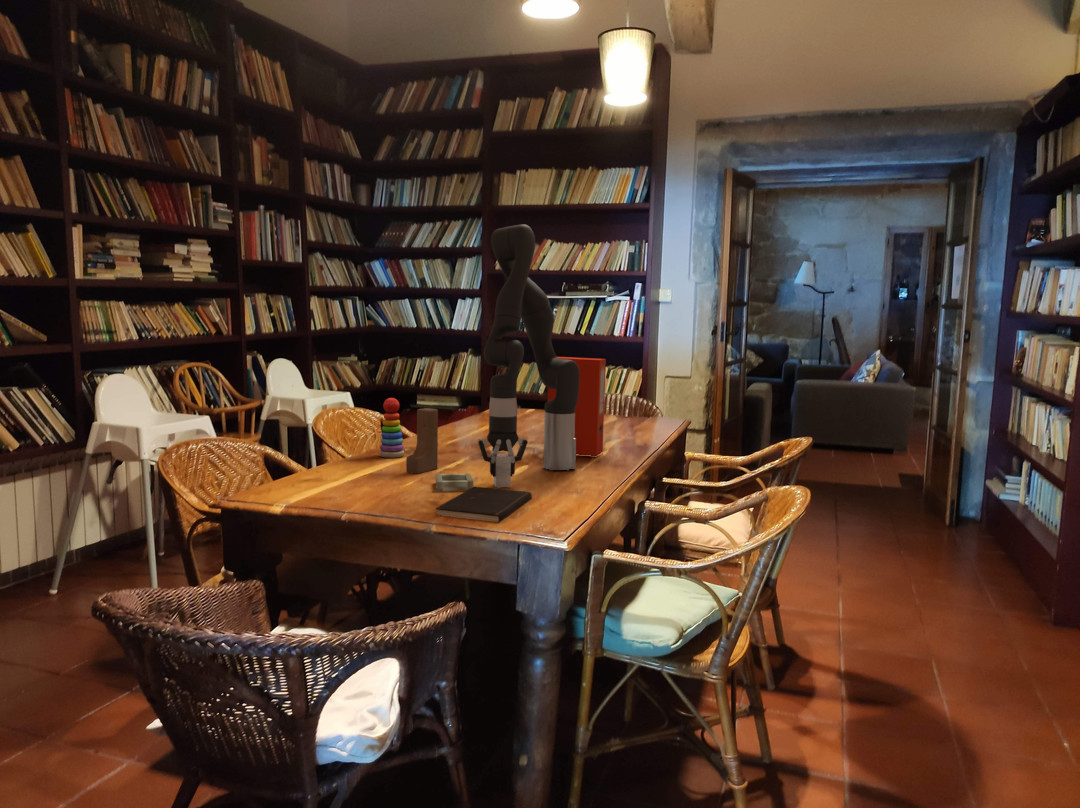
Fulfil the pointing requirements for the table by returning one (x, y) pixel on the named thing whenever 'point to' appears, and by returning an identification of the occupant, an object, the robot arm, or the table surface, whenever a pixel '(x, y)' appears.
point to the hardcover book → (484, 504)
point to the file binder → (588, 405)
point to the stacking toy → (391, 431)
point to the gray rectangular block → (502, 470)
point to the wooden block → (425, 442)
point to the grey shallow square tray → (453, 482)
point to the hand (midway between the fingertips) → (502, 475)
